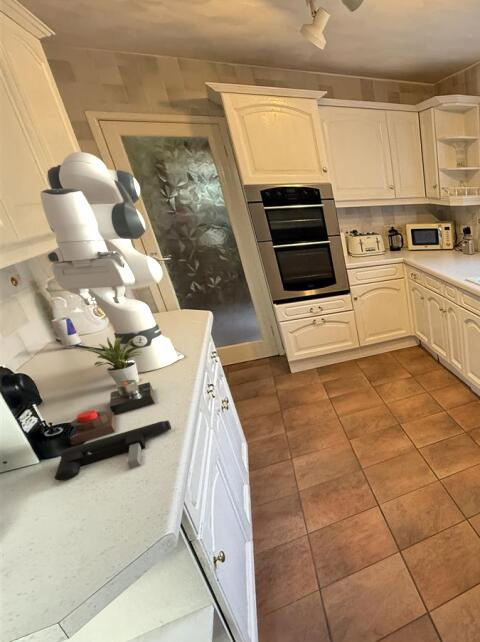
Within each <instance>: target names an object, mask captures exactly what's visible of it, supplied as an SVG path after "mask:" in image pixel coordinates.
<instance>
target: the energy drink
mask: <svg viewBox="0 0 480 642" xmlns="http://www.w3.org/2000/svg"><path fill="white" fill-rule="evenodd" d="M51 325H52V327H53V328H54V330H55V332H56V334H57V336H58V339H59V340H61V342H62V343H61V342H60V343H61V344H62V345H63V347H64V348H65V349H75V348H77V347H76V346H75V345H82V346H83V342H82V339H81V337H80V336H79V333H78V332H77V329H76V327H75V325H74V323H73V322H72V320H71V318H70V317H69V316H68V317H67V316H66V317H65V316H64V317H59V318H54V319H52V320H51Z"/></svg>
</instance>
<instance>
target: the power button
mask: <svg viewBox="0 0 480 642" xmlns="http://www.w3.org/2000/svg"><path fill="white" fill-rule="evenodd" d="M97 412H98V411H96V410H95V409H90V410H86V411H82V412H81V413H78V414H77V415H76V418H77V419H78V421H79V422H80V423H83V422H87V421H91V420H93V419H96V418H97V417H99V416H98V414H97Z"/></svg>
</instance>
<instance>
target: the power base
mask: <svg viewBox="0 0 480 642" xmlns="http://www.w3.org/2000/svg"><path fill="white" fill-rule="evenodd" d="M96 412H97V414H98V416H99V417H97V418H96V419H93V420H91V421H87V422H83V423H80V422H79V421H78V419H77V417H76V418H75V419H73V420H72V421H71V422H70V427H71V426H73V427H75V428H76V429H77V430H78V432H77V434H75V435H73V436H72V437H70V439H72V440H73V442H70V444H71V446H76V445H79V444H81V443H86V442H88V441H92V440H96V439H98V438H102V437H106V436H108V435H111V434H114V433H116V428H117V427H116V426H117V417H116V416H117V415H115V414H114V413H113V411H108V412H106V411H101V410H100V411H96Z"/></svg>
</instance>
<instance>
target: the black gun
mask: <svg viewBox="0 0 480 642" xmlns="http://www.w3.org/2000/svg"><path fill="white" fill-rule="evenodd" d="M171 430H172V424H171V422H170V421H169V420H168V419H167V420H160V421H158V422H154V423H151V424H147V425H143V426H140V427H138V428H134V429H130V430H127V431H124V432H119V433H116V434H113V435H110V436H105V437H101V438H99V439H95V440H93V441H92V440H91V441H89V442H84V443H83V444H77V445H74V446H71V447H69V448H65V449H64V450H62V452H61V453H60V461H59V463H58V466H57V469H56V472H55V475H54V480H56V481H59V482H63V481H69V480H72V479H74V478H76V477H77V476H78V475H79V473H80V471H81V468H83V467H87V466H89V465H93V464H95V463H99V462H101V461H105V460H109V459H112V458H115V457H118V456H121V455H124V454H128V456H127V465H128V467H129V468H130V469H134V468H137V467H139V466H141V459H142V457H141V456H142V450H145V449H146V446H147V444H146V443H147V438H150V437H153V436H157V435H161V434H164V433H167V432H168V431H171Z"/></svg>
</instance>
